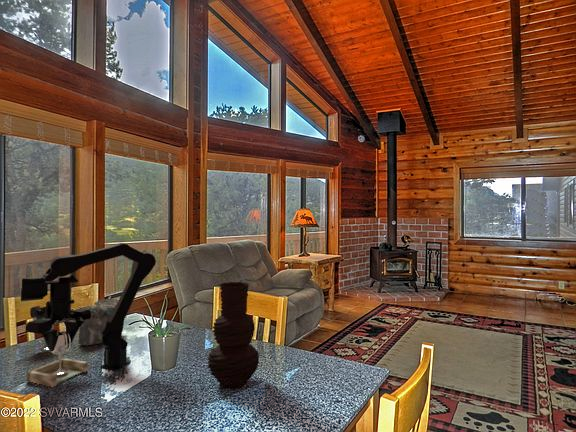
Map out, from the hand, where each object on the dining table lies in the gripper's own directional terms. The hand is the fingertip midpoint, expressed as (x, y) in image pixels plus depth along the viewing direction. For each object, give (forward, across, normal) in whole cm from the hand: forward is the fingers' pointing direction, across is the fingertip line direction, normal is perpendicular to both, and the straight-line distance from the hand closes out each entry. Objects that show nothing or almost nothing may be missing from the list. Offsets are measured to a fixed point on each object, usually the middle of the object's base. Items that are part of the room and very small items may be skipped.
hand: (60, 347), depth 120 cm
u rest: (+9, 0, -1) cm, 9 cm away
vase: (+9, -14, +52) cm, 55 cm away
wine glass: (+9, -17, -27) cm, 33 cm away
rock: (+9, -34, -16) cm, 38 cm away
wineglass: (+8, 0, 0) cm, 8 cm away
